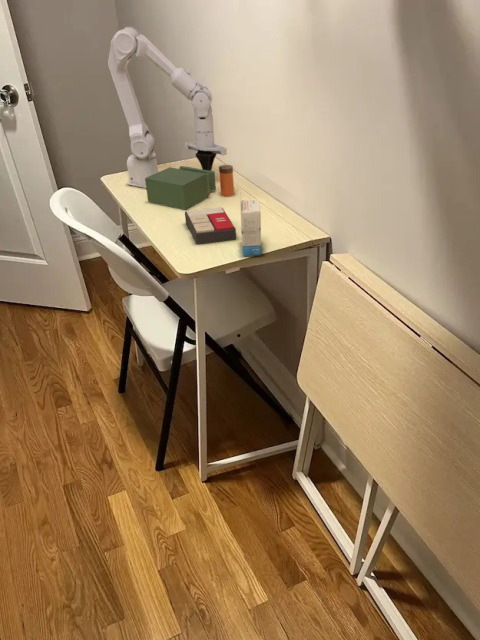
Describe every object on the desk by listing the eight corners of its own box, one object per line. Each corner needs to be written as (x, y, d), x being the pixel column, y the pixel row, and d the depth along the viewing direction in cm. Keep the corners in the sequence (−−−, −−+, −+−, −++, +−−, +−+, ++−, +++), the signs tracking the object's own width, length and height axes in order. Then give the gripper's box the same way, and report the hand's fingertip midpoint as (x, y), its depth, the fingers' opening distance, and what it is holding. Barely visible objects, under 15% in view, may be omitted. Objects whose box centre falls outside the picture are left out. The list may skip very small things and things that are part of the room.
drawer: (190, 180, 190) (188, 162, 186) (222, 186, 185) (221, 168, 182) (162, 193, 179) (159, 175, 175) (195, 200, 174) (194, 181, 171)
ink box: (261, 256, 145) (260, 199, 136) (242, 256, 144) (240, 199, 135) (260, 242, 152) (259, 187, 143) (241, 243, 151) (239, 187, 142)
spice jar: (217, 195, 181) (216, 167, 176) (225, 191, 184) (223, 164, 179) (229, 197, 179) (228, 169, 174) (236, 193, 182) (235, 166, 177)
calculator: (195, 231, 148) (184, 208, 159) (196, 246, 151) (185, 223, 161) (236, 226, 151) (222, 204, 161) (236, 241, 153) (223, 219, 164)
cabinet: (172, 190, 184) (169, 167, 179) (208, 197, 179) (206, 173, 174) (148, 202, 175) (144, 178, 170) (185, 210, 170) (183, 185, 166)
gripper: (230, 130, 179) (232, 174, 187) (192, 125, 184) (196, 168, 192) (218, 135, 174) (221, 180, 182) (179, 130, 179) (184, 173, 187)
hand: (207, 174), depth 187 cm, fingers closed, pressing on drawer
